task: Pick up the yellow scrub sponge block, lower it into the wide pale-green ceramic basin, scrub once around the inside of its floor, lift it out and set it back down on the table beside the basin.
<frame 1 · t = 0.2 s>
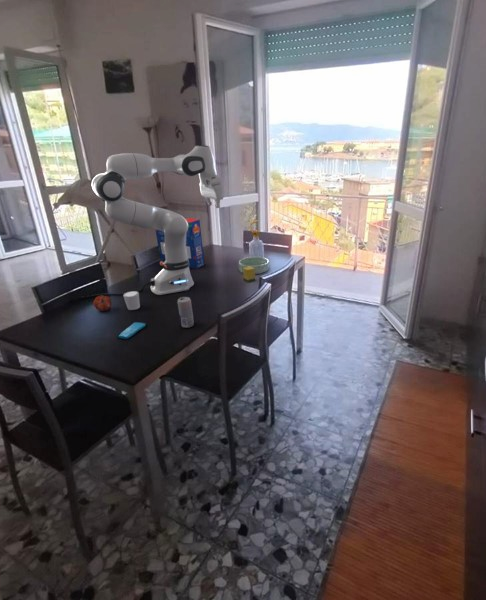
hand: (213, 206, 186), 39 cm above the table, tool pointing down, fingers open, 8 cm apart
soap bottle: (257, 259, 228), on the table
sponge: (131, 331, 146), on the table
energy drink: (187, 325, 150), on the table
basin: (254, 269, 210), on the table
white cylinder: (133, 307, 167), on the table
pasta box: (182, 264, 223), on the table
pomegranate: (104, 310, 166), on the table
scrub block: (249, 280, 194), on the table
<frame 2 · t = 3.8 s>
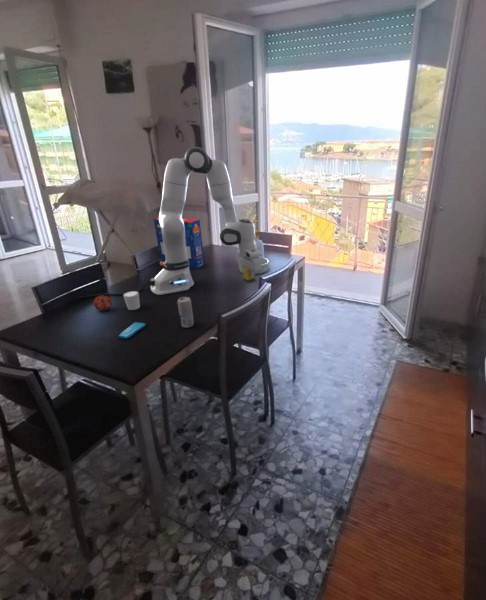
hand: (249, 274, 193), 3 cm above the table, tool pointing down, fingers closed on scrub block, 4 cm apart
scrub block: (249, 280, 194), on the table, touching gripper
everything else where it was.
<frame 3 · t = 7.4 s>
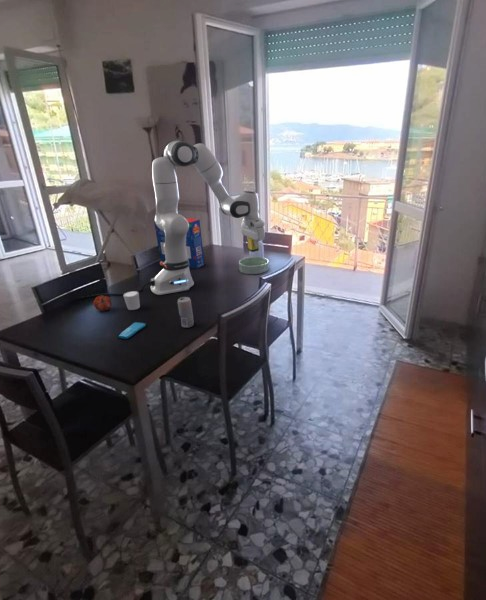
hand: (253, 245, 203), 15 cm above the table, tool pointing down, fingers closed on scrub block, 4 cm apart
scrub block: (253, 250, 205), point 12 cm above the table, touching gripper
everything else where it was.
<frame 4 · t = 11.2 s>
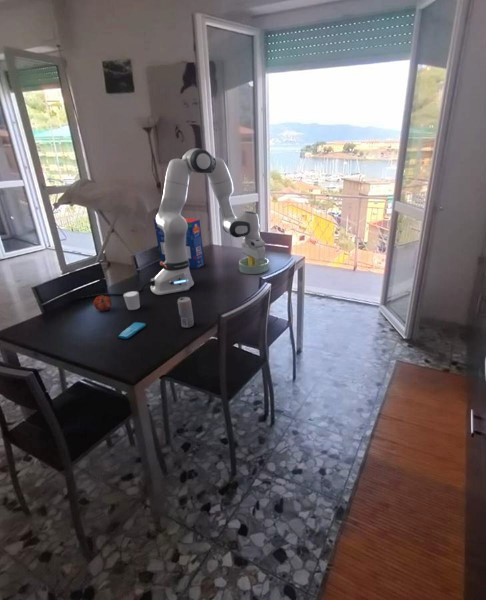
hand: (253, 263, 206), 4 cm above the table, tool pointing down, fingers closed on scrub block, 4 cm apart
scrub block: (253, 268, 207), point 1 cm above the table, touching gripper
everything else where it was.
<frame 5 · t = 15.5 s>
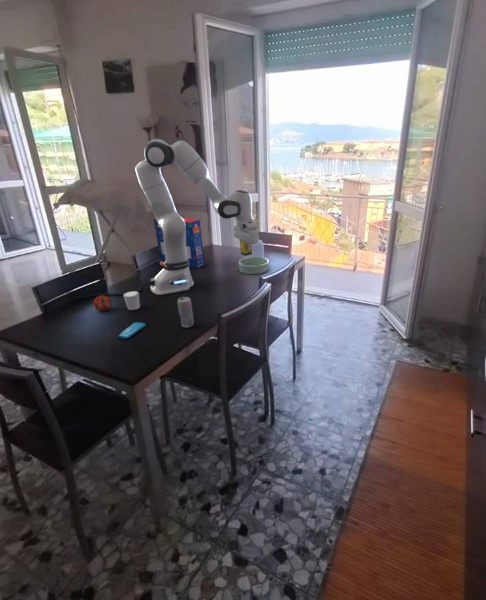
hand: (246, 248, 189), 17 cm above the table, tool pointing down, fingers closed on scrub block, 4 cm apart
scrub block: (246, 254, 191), point 14 cm above the table, touching gripper
everything else where it was.
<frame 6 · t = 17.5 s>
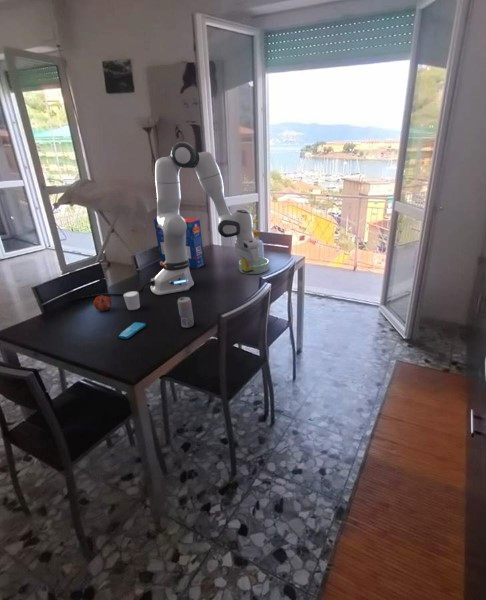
hand: (247, 266, 193), 8 cm above the table, tool pointing down, fingers closed on scrub block, 4 cm apart
scrub block: (247, 271, 194), point 4 cm above the table, touching gripper
everything else where it was.
when the fingers open (3 cm above the table, at t = 19.0 s): scrub block stays where it is, on the table.
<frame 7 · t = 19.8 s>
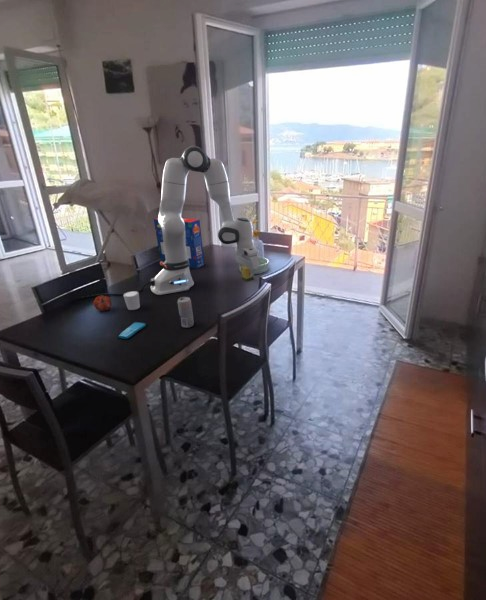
hand: (246, 273, 194), 4 cm above the table, tool pointing down, fingers open, 8 cm apart
scrub block: (247, 278, 196), on the table
everything else where it was.
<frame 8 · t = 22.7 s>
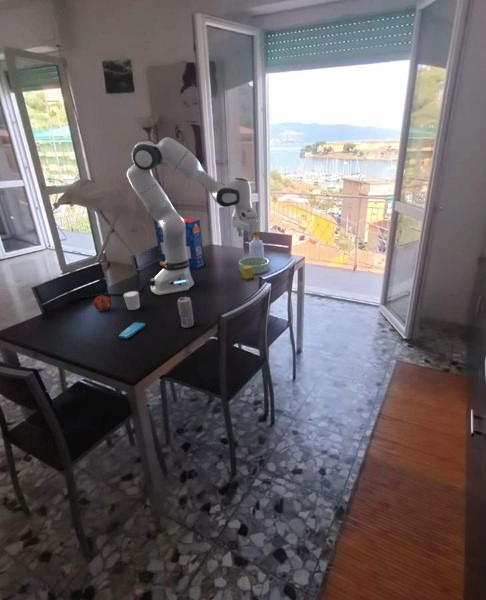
hand: (245, 238, 186), 23 cm above the table, tool pointing down, fingers open, 8 cm apart
nothing on the table moved.
at the end: scrub block inside the target area (0.3 cm from its centre), on the table; the gripper is holding nothing; scrub block tilted 0° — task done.
